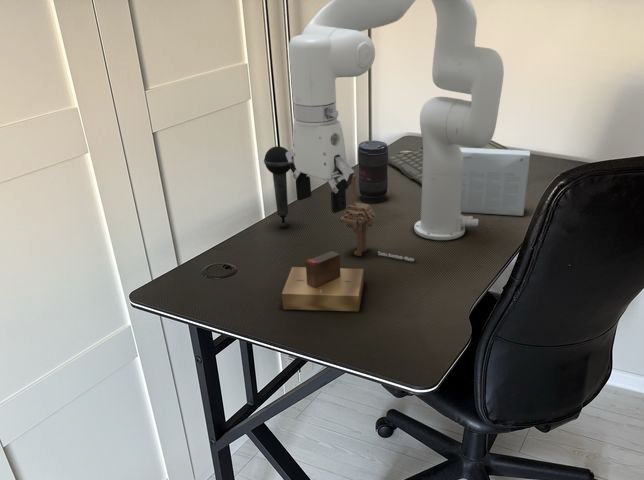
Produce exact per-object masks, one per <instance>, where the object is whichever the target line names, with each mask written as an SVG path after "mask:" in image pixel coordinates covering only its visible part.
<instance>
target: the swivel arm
mask: <svg viewBox="0 0 644 480" xmlns="http://www.w3.org/2000/svg"><path fill="white" fill-rule="evenodd" d="M305 267H306V275H307V284H308V285H310V286H312V287H314V288H316V287H319V286H321V285H323V284H325V283H328V282H330V281H332V280H334V279H337V278H339V277H341V275H340V268H341V254H340V253H338V252H336V251H333V250H330V251H328V252H326V253H323V254H321V255H318V256H316V257H313V258H309V259H306V261H305Z"/></svg>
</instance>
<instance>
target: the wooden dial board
mask: <svg viewBox="0 0 644 480" xmlns="http://www.w3.org/2000/svg"><path fill="white" fill-rule="evenodd" d="M364 273H365V272H364V268H345V267H344V268H342V267H340V275H341V277H339V278H337V279H334V280H332V281H330V282H328V283H325V284H323V285H321V286H319V287H316V288H314V287H312V286H310V285H308V284H307V275H306V266H305V267H303V266H301V267H300V266H292V267H291V269H290V271H289V274H288V277H287V279H286V281H285V284H284V287H283V290H282V292H281V300H282V301H281V303H282V309H283V310H297V311H298V310H300V311H327V312H328V311H329V312H331V311H332V312H360V306H361V302H362V296H363V291H364V284H365V283H364V281H365V279H364V278H365V277H364Z"/></svg>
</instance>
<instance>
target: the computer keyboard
mask: <svg viewBox="0 0 644 480" xmlns="http://www.w3.org/2000/svg"><path fill="white" fill-rule="evenodd" d="M459 147H460V148H471V147H466V146H461V145H459ZM481 149H503V150H509V148H508V147H507V146H505V145H503V144H501V143H499V142H496V140H495V141H494V140H493V139H491V141H490V143H489V144H488V145H487V146H485V147H483V148H481ZM388 164H390V165H392V166H394V167H396V168H398V170H400V171H401V173H403V174H404V176H406V177H407V178H408V179H412V180H413V179H414V180H415V181H416V182H418V183H420V184H421V185H422V171H423V146H422V147H421V148H420V149H415V150H412V151H406V152H403V153H399V154H396V155H391V156H388Z"/></svg>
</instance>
